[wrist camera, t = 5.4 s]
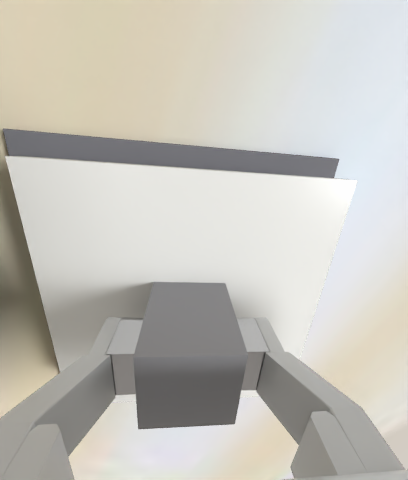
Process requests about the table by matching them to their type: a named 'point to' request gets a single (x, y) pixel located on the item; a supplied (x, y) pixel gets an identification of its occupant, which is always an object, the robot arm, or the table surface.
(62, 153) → the mat
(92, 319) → the cover sheet
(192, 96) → the table surface
